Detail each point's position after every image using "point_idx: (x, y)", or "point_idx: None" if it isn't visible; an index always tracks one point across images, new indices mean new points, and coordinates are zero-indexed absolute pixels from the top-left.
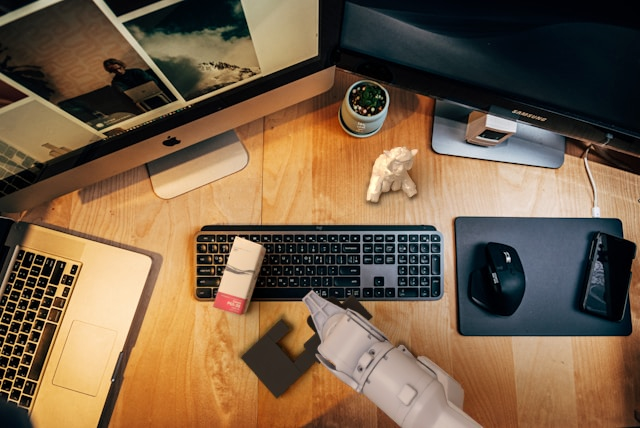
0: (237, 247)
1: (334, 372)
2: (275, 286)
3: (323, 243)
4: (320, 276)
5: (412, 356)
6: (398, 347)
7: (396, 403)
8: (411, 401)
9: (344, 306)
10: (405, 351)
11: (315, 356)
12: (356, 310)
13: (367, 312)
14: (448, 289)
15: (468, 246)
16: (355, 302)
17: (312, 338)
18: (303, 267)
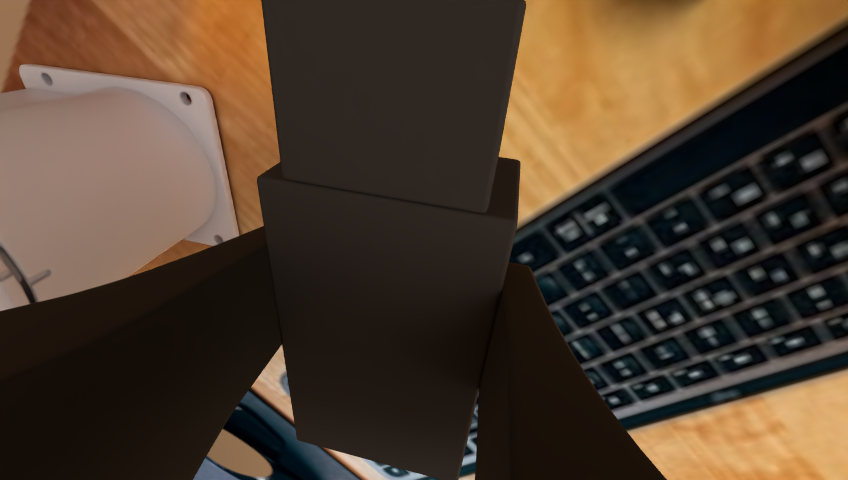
0: None
1: None
2: (832, 118)
3: (678, 364)
4: (621, 272)
5: (189, 239)
6: (234, 236)
7: None
8: None
9: (452, 430)
10: (212, 239)
11: (344, 16)
12: (381, 438)
13: (332, 447)
14: (285, 402)
15: (331, 477)
16: (417, 463)
17: (495, 147)
18: (716, 264)
